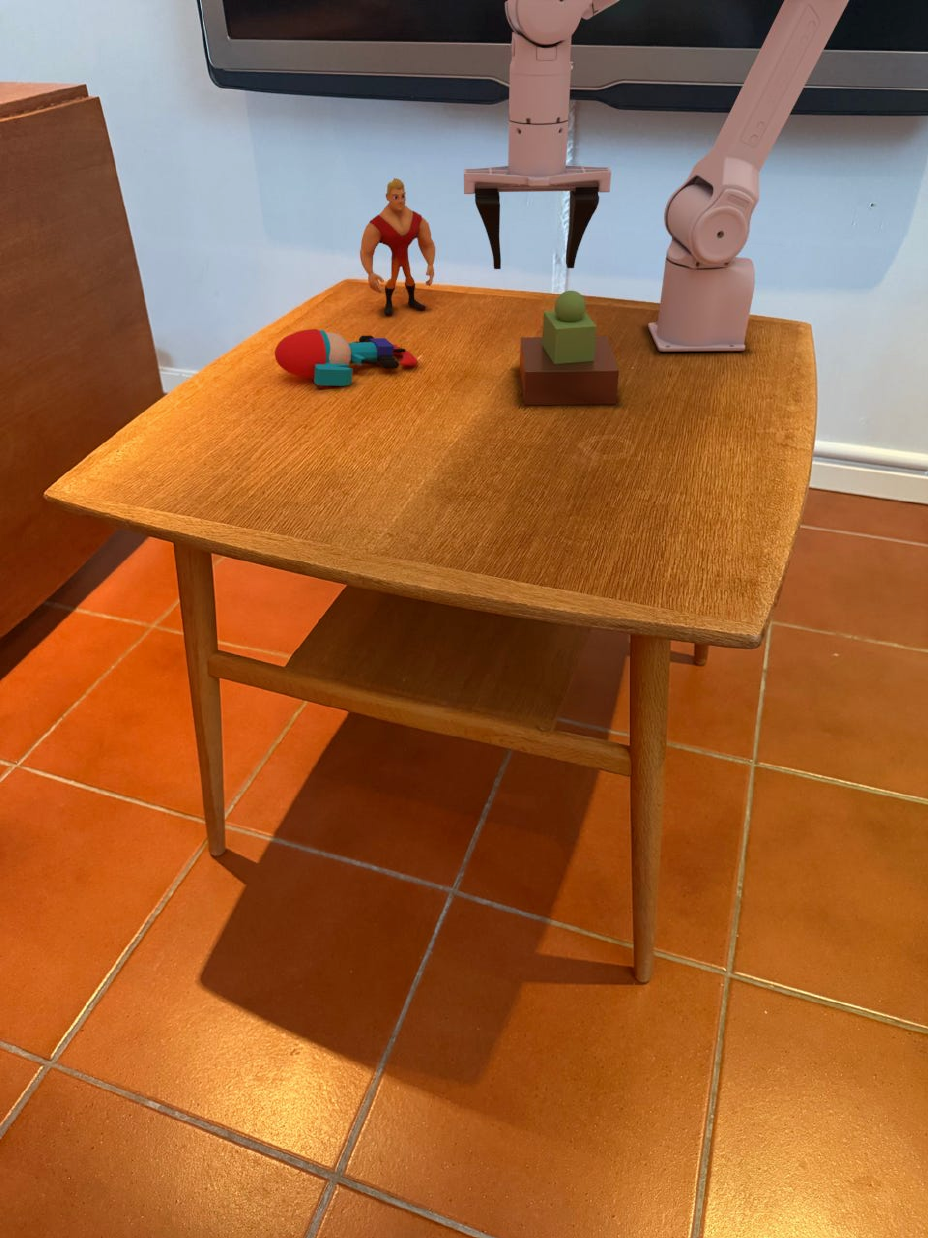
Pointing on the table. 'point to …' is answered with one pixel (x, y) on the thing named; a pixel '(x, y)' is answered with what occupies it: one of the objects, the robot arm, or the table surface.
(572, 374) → the walnut block
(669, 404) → the table surface
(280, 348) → the toy figure
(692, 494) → the table surface
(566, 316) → the green toy
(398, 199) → the action figure
